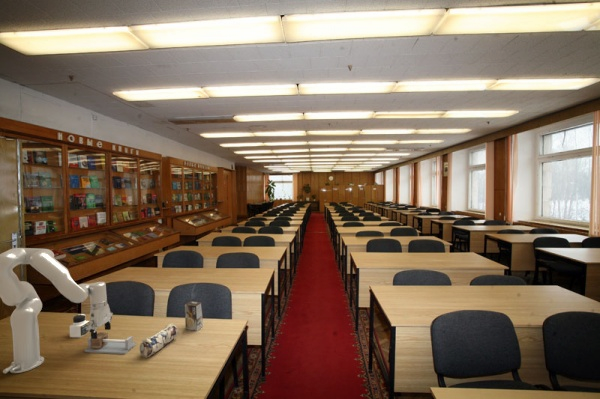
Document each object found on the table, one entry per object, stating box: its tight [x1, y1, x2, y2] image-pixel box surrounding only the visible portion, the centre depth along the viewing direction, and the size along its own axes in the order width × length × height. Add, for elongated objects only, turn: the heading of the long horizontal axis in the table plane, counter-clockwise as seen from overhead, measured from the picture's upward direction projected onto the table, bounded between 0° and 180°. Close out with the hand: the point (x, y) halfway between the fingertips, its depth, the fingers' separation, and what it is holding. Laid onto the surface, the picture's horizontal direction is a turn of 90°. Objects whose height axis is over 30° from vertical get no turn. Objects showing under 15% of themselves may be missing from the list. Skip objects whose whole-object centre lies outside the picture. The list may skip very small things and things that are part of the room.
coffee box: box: [184, 300, 204, 332], centre depth 183 cm, size 9×6×16 cm
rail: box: [83, 336, 137, 355], centre depth 160 cm, size 9×24×6 cm, turn 85°
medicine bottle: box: [68, 313, 90, 338], centre depth 175 cm, size 7×7×12 cm
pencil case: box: [139, 322, 179, 359], centre depth 161 cm, size 22×8×10 cm, turn 165°
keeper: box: [91, 331, 109, 349], centre depth 160 cm, size 6×5×6 cm
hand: (101, 333), depth 160 cm, fingers open, 9 cm apart
